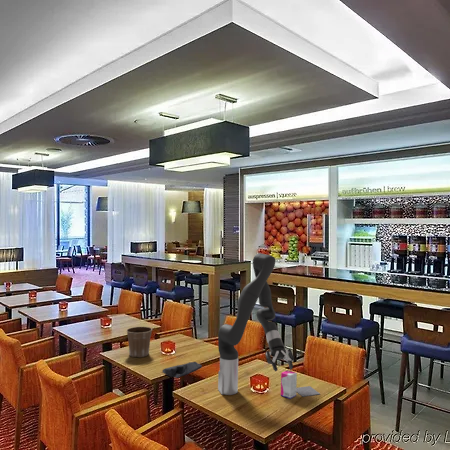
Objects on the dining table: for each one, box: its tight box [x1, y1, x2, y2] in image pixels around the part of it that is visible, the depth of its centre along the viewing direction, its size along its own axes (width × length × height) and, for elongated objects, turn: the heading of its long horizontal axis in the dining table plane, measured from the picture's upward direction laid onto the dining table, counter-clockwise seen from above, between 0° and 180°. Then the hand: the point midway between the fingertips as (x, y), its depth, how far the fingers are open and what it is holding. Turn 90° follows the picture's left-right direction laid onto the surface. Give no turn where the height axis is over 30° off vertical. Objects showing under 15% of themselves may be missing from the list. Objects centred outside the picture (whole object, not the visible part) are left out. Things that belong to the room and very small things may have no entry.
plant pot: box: [125, 326, 153, 358], centre depth 260 cm, size 16×16×16 cm
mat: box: [296, 385, 321, 398], centre depth 206 cm, size 10×10×1 cm
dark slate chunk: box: [162, 361, 203, 379], centre depth 232 cm, size 15×22×5 cm
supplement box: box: [280, 370, 298, 400], centre depth 201 cm, size 6×6×12 cm
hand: (284, 369), depth 206 cm, fingers open, 8 cm apart
